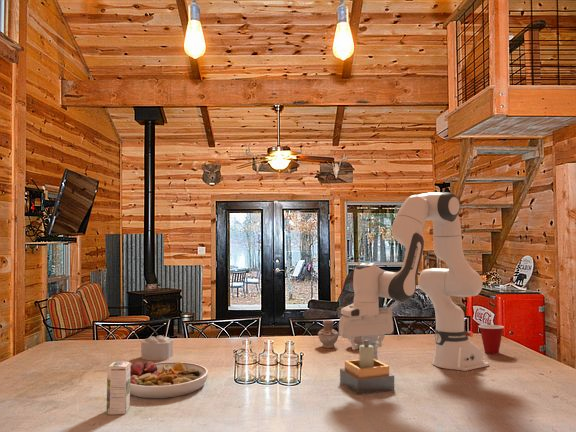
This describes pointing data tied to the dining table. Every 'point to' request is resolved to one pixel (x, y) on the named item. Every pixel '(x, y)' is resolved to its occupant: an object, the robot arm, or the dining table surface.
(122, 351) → the dining table surface
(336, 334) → the pottery
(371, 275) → the robot arm
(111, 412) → the syrup box
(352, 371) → the tan and grey box
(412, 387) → the dining table surface
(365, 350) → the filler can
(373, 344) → the bottle
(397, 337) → the dining table surface
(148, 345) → the white lumpy-lid tub
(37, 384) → the dining table surface
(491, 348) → the plastic cup
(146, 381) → the bowl
